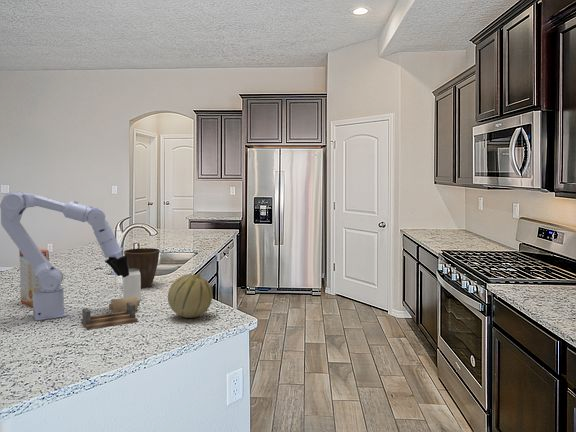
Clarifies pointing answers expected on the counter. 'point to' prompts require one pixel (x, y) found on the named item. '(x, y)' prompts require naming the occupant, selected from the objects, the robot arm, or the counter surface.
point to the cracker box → (29, 279)
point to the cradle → (108, 318)
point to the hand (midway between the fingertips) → (123, 275)
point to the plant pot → (143, 263)
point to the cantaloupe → (190, 296)
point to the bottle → (122, 304)
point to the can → (132, 284)
